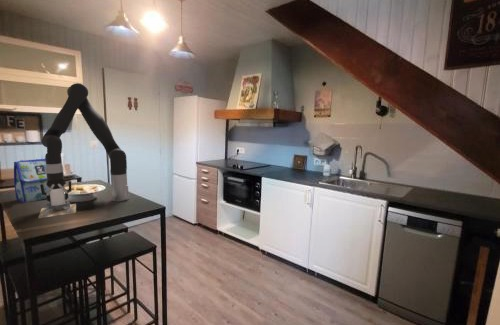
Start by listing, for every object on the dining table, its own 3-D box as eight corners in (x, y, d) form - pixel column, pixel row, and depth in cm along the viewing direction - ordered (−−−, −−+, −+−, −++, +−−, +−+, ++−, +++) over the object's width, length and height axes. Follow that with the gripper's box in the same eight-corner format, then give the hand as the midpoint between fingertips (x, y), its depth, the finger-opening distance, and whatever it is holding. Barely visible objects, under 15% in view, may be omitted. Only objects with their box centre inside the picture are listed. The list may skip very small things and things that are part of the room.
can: (54, 207, 146) (51, 186, 144) (67, 206, 148) (65, 185, 146) (49, 211, 140) (47, 189, 138) (63, 209, 142) (61, 188, 140)
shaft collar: (72, 204, 151) (71, 199, 151) (71, 212, 138) (71, 207, 137) (45, 207, 145) (45, 202, 144) (42, 217, 131) (42, 211, 130)
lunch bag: (24, 205, 154) (19, 162, 150) (14, 200, 162) (9, 160, 158) (66, 196, 172) (62, 158, 168) (55, 192, 181) (51, 156, 177)
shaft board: (76, 206, 153) (75, 203, 153) (76, 215, 138) (75, 212, 138) (42, 210, 144) (41, 208, 144) (38, 221, 129) (37, 218, 129)
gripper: (70, 169, 148) (73, 197, 150) (38, 171, 140) (42, 200, 142) (70, 171, 141) (73, 200, 144) (37, 174, 133) (40, 204, 136)
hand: (58, 200), depth 143 cm, fingers open, 7 cm apart
